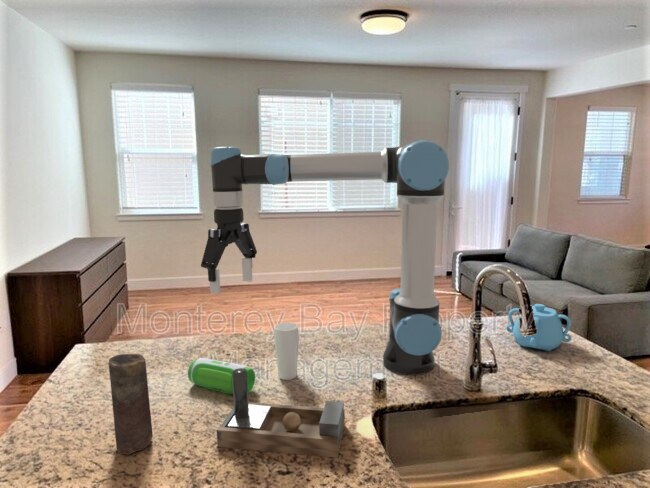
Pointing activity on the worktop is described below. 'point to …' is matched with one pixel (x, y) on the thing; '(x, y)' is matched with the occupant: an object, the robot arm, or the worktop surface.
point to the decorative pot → (542, 329)
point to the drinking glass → (286, 349)
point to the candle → (130, 402)
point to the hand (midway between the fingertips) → (232, 287)
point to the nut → (291, 421)
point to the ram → (246, 405)
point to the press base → (309, 439)
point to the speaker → (217, 374)
